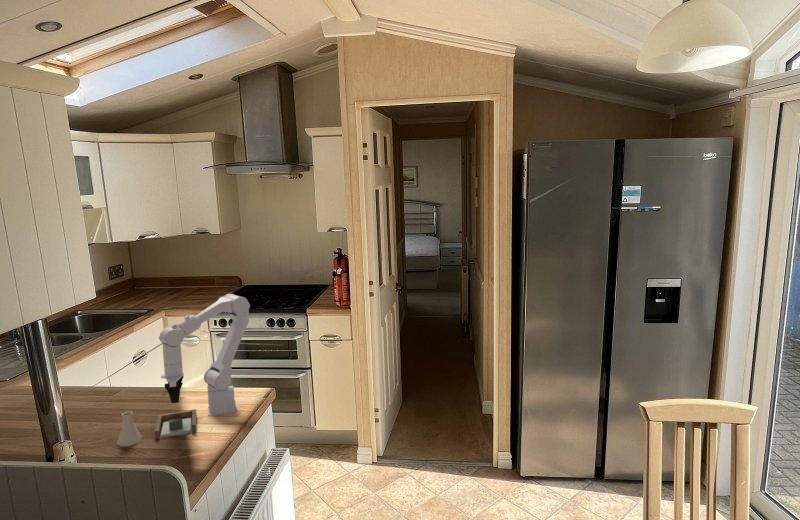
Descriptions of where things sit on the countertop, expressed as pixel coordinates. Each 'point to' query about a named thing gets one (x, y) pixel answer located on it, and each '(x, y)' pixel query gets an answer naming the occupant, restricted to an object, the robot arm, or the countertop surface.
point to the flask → (128, 431)
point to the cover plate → (176, 432)
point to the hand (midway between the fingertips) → (175, 399)
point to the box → (175, 415)
